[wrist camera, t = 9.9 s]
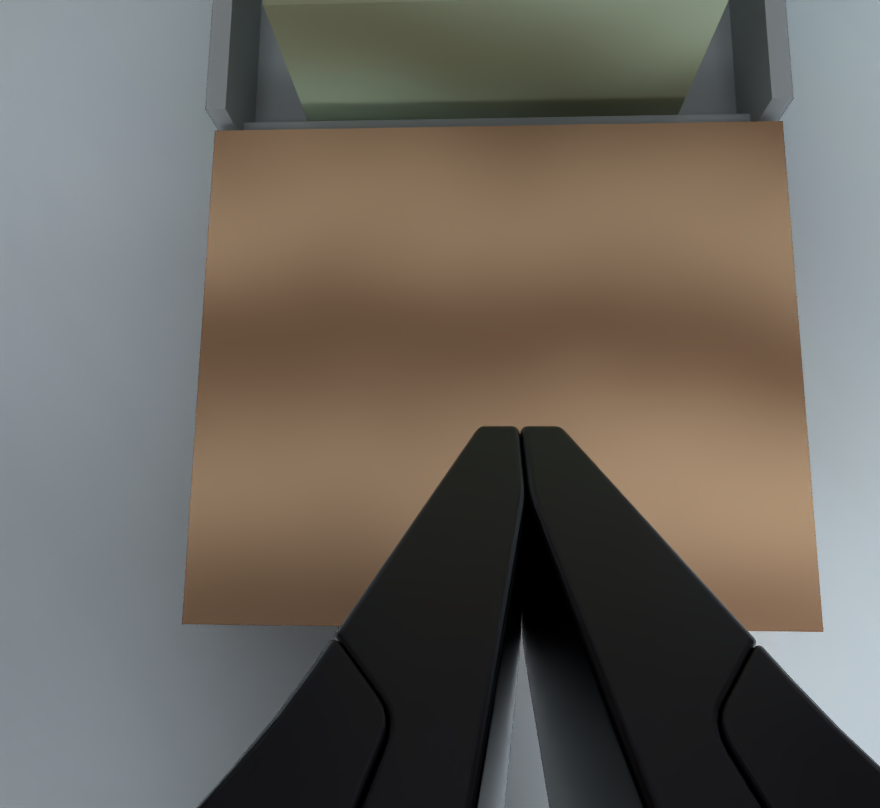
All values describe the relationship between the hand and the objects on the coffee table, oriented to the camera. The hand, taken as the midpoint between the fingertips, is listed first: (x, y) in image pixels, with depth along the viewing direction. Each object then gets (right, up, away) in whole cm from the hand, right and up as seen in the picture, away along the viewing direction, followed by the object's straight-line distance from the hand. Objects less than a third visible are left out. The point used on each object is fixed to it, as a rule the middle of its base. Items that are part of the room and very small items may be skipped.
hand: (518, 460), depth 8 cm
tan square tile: (+1, +1, +13) cm, 13 cm away
